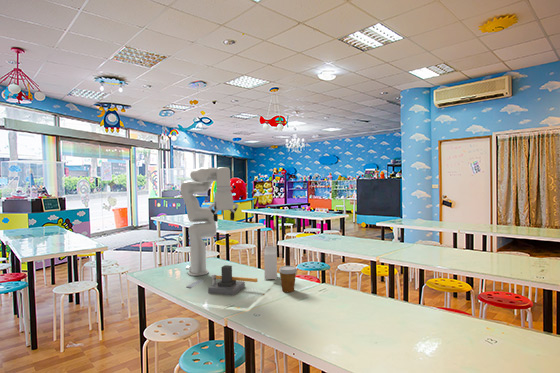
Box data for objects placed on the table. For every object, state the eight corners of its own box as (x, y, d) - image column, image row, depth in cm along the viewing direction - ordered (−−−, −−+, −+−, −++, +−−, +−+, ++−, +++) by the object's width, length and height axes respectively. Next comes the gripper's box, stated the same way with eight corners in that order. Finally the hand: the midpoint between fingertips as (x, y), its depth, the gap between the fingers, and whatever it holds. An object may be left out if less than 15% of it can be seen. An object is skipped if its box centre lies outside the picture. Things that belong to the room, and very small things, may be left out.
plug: (217, 291, 166) (217, 267, 166) (224, 287, 173) (223, 264, 173) (230, 292, 164) (229, 268, 164) (235, 288, 171) (235, 265, 171)
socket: (203, 294, 165) (202, 284, 165) (216, 286, 178) (216, 276, 178) (233, 298, 160) (233, 286, 160) (244, 289, 173) (244, 278, 173)
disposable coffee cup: (297, 287, 175) (297, 265, 174) (296, 293, 165) (296, 270, 165) (279, 287, 175) (279, 265, 175) (278, 293, 166) (277, 270, 166)
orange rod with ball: (210, 278, 173) (210, 275, 173) (213, 277, 176) (213, 274, 176) (256, 282, 165) (256, 279, 165) (258, 281, 168) (258, 278, 168)
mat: (186, 287, 177) (186, 286, 177) (200, 280, 190) (200, 279, 190) (209, 289, 173) (209, 288, 173) (221, 282, 186) (221, 281, 186)
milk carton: (276, 279, 190) (276, 247, 189) (264, 279, 190) (264, 247, 190) (277, 276, 197) (276, 245, 197) (265, 276, 197) (265, 245, 197)
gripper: (234, 189, 186) (235, 219, 186) (206, 190, 176) (206, 221, 176) (240, 189, 180) (241, 220, 180) (211, 189, 170) (212, 222, 170)
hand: (224, 220), depth 178 cm, fingers open, 9 cm apart
